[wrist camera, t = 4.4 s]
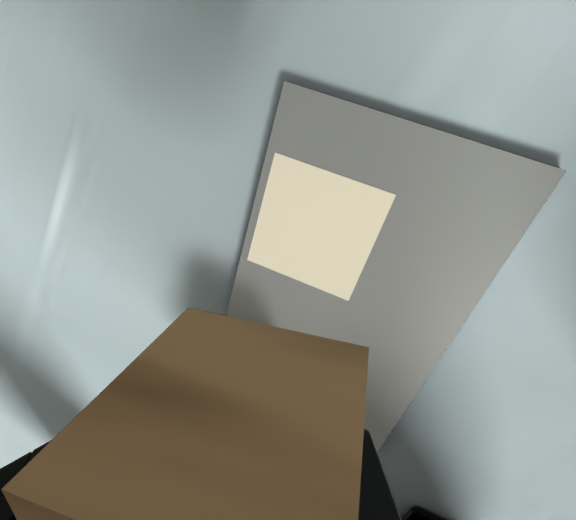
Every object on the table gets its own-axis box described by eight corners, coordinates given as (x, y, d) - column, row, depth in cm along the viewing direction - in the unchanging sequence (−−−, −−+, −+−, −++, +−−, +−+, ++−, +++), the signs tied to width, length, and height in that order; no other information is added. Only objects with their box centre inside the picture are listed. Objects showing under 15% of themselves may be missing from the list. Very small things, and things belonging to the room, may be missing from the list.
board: (560, 169, 15) (566, 170, 15) (375, 448, 25) (375, 456, 24) (287, 82, 17) (283, 80, 16) (213, 373, 27) (210, 378, 26)
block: (342, 473, 10) (310, 752, 6) (198, 429, 11) (76, 634, 7) (369, 347, 8) (351, 633, 4) (188, 307, 9) (1, 488, 5)
